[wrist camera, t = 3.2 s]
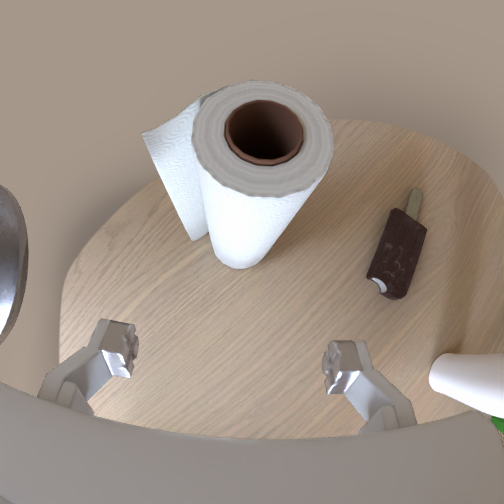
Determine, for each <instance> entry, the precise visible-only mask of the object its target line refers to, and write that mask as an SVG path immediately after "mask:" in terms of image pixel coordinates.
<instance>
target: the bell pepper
mask: <svg viewBox="0 0 504 504" xmlns="http://www.w3.org/2000/svg"><path fill="white" fill-rule="evenodd" d="M492 423H493V424H494V425H495V426H496V428H497V429H498V430H500V431H501V432H502V433H504V419H503V418H499V417H495V416H492Z"/></svg>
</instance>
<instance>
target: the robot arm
mask: <svg viewBox="0 0 504 504" xmlns="http://www.w3.org/2000/svg"><path fill="white" fill-rule="evenodd" d="M135 331H136V328H135V325H134V324H129V323H123V322H118V321H113V320H107V319H102V318H101V319H100V320H99V321H98V323H97V326H96V328H95V330H94V332H93V335H92V337H91V339H90V342H89V344H88V346H87V347H83V348H82V349H80V350H79V351H77V352H76V353H75V354H73V355H72V356H70V357H69V358H68V359H66V360H65V361H63V362H62V363H61V364H59V365H58V366H57V367H55V368H54V369H52V370H51V371H50V372H49V373H47V374H46V376H45V379H44V381H43V383H42V386H41V388H40V391H39V393H38V395H37V397H35V396H33V395H30V394H28V393H25V392H23V391H20V390H18V389H15V388H13V387H11V386H9V385H6V384H4V383H2V382H0V504H504V450H503V446H502V443H501V439H500V436H499V433H498V430H497V428H496V426H495V425H494V424H493V423H492V422H491V421H490V420H489V419H487V418H486V417H485V416H484V415H483V414H481V413H480V412H479V411H476V410H472V411H468V412H465V413H462V414H458V415H455V416H451V417H447V418H444V419H440V420H436V421H432V422H427V423H423V424H417V420H416V417H415V414H414V411H413V407H412V404H411V401H410V400H409V399H407V398H406V397H405V396H404V395H403V394H402V393H401V392H400V391H399V390H398V389H397V388H396V387H395V386H394V385H392V384H391V383H390V382H389V381H388V380H387V379H386V378H385V377H384V376H383V375H382V374H381V373H380V372H379V371H377V370H374V368H373V365H372V361H371V358H370V355H369V352H368V349H367V346H366V343H365V341H352V340H335V341H330V342H329V345H328V349H329V350H328V351H326V352H325V353H324V355H323V359H322V371H323V373H324V374H325V375H326V376H327V377H326V379H325V381H324V382H325V388H326V393H327V394H343V393H345V394H344V395H345V396H346V397H347V398H348V400H349V401H350V402H351V403H352V405H353V406H354V407H355V408H356V410H357V411H358V412H359V413H360V415H361V416H362V417H363V418H364V420H365V421H366V422H367V423H366V424H365V425H364V426H363V427H362V428H361V429H360V430H359V431H358V434H359V435H350V436H340V437H328V438H312V439H239V438H223V437H211V436H201V435H192V434H184V433H177V432H170V431H163V430H157V429H152V428H146V427H141V426H136V425H131V424H126V423H122V422H118V421H113V420H109V419H105V418H101V417H97V416H94V411H93V410H92V408H91V407H90V405H89V404H88V402H87V401H88V400H89V399H90V398H91V397H92V396H93V395H94V394H95V393H96V392H97V391H98V390H99V389H100V388H101V387H102V386H103V385H104V384H105V383H106V382H107V381H108V380H109V379H110V378H111V377H112V376H118V377H124V378H131V375H132V371H133V368H134V364H133V360H134V359H135V358H137V354H138V348H139V341H138V337H137V336H136V335H135Z"/></svg>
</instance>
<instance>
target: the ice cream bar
mask: <svg viewBox="0 0 504 504" xmlns="http://www.w3.org/2000/svg"><path fill="white" fill-rule="evenodd" d="M422 196H423V195H422V192H421V190H420V189H418V188H414V189H413V190H412V191H411V193H410V197H409V200H408V204H407V207H406V210H405V213H404V212H403V211H401V210H399V209H397V208H394V209H392V210H391V212H390V215H389V218H388V221H387V224H386V226H385V229H384V232H383V235H382V237H381V240H380V243H379V245H378V248H377V251H376V253H375V256H374V258H373V261H372V263H371V266H370V268H369V271H368V273H367V276H366V277H367V279H370V280H372V281H374V282H375V283H377V284H378V285H379V287H380V290H381V291H380V294H382V295H384V296H386V297H387V298H389V299H393V300H394V299H402V298H403V297H404V296H405V295H406V294H407V291H408V288H409V285H410V282H411V280H412V277H413V274H414V271H415V268H416V265H417V262H418V259H419V255H420V252H421V249H422V246H423V242H424V239H425V235H426V232H427V229H426V228H425V227H424V226H422V225H421V224H419V223H418V222H416V219H417V215H418V212H419V208H420V204H421V201H422Z"/></svg>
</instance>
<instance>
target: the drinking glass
mask: <svg viewBox="0 0 504 504" xmlns="http://www.w3.org/2000/svg"><path fill="white" fill-rule="evenodd" d="M429 383H430V385H431V387H432V389H433V390H435V391H436V392H439V393H442V394H445V395H447V396H449V397H451V398H454V399H456V400H458V401H460V402H462V403H464V404H466V405H468V406H471V407H473V408H475V409H477V410H479V411H481V412H484V413H486V414H489V415H492V416H495V417H499V418H503V419H504V353H494V354H453V353H445V354H442V355H440V356H439V357H438V358H437V359H436V360H435V361H434V363H433V364H432V366H431V369H430V372H429Z"/></svg>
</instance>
